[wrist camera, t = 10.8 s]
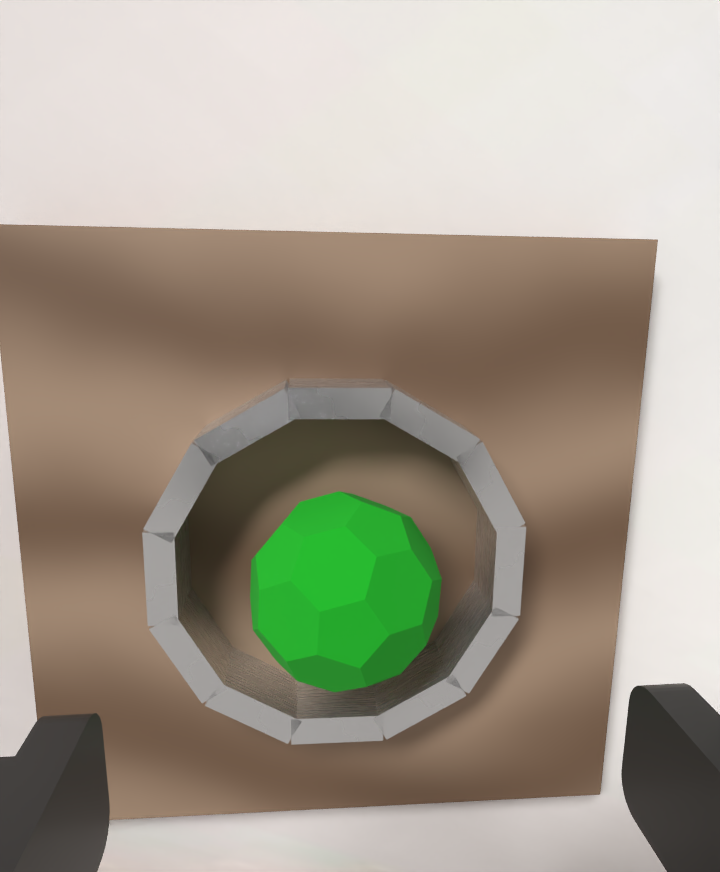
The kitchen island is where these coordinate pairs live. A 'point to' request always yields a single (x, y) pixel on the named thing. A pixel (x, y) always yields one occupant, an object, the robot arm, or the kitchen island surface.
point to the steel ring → (277, 690)
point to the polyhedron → (344, 592)
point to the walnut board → (320, 484)
